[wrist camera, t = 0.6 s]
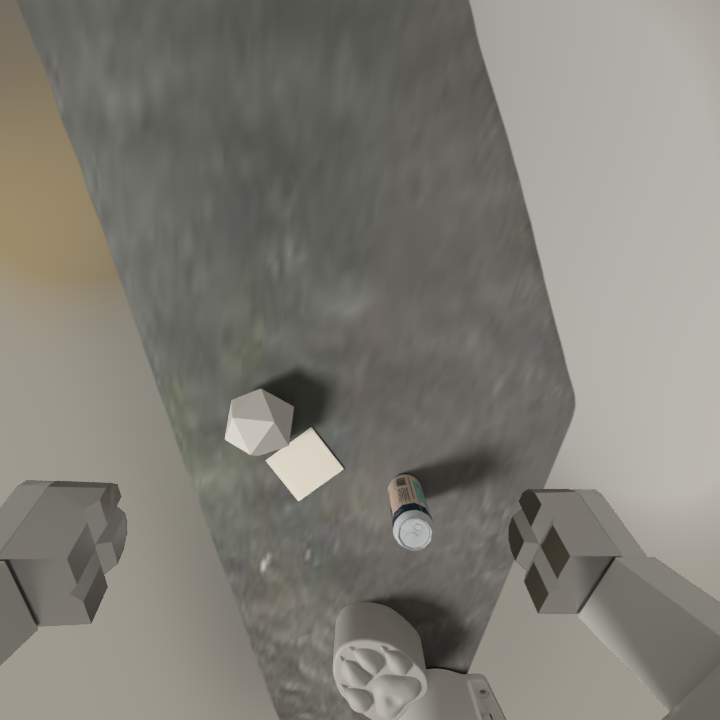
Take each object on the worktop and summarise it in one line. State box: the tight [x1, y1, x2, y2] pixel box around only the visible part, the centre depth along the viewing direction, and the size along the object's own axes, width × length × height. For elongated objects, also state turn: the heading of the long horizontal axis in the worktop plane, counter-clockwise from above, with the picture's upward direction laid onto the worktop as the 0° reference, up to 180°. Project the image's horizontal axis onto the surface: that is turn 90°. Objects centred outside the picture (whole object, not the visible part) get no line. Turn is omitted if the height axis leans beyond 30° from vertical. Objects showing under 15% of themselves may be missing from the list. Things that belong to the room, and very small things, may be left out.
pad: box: [266, 427, 344, 502], centre depth 60 cm, size 8×8×1 cm
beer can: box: [388, 474, 435, 550], centre depth 55 cm, size 5×5×12 cm
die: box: [225, 389, 294, 456], centre depth 56 cm, size 8×9×10 cm
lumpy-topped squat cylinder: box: [333, 602, 428, 720], centre depth 60 cm, size 10×13×9 cm
